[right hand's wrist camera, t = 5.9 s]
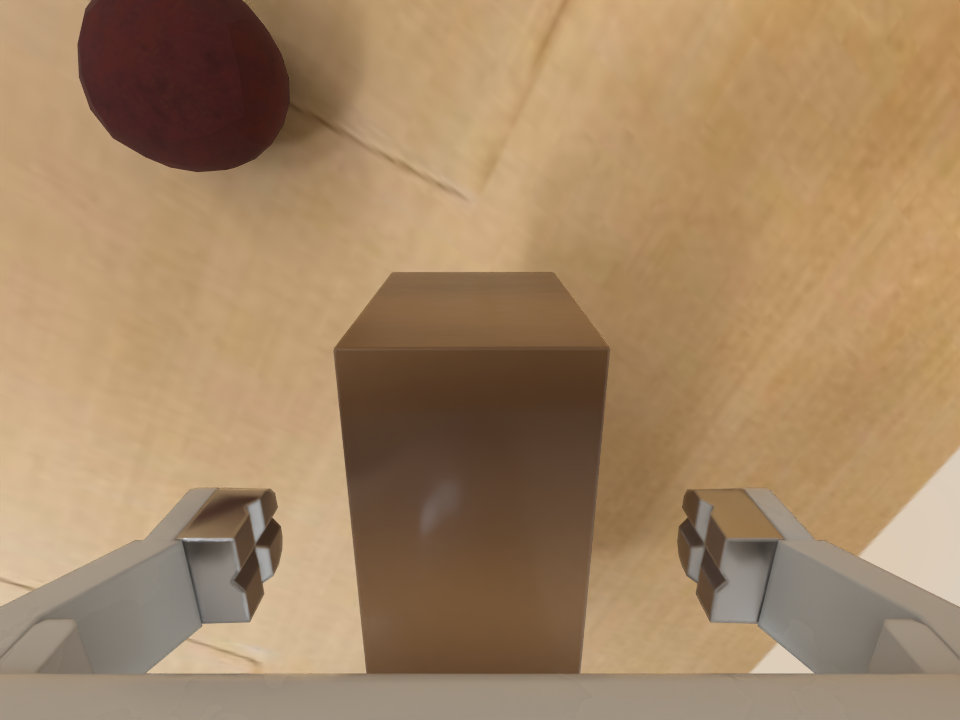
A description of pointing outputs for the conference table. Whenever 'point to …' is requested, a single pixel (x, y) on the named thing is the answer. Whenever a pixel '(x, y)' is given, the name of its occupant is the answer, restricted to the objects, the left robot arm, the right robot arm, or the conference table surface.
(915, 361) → the conference table surface
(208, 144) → the dark maroon ball
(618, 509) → the conference table surface
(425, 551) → the block
